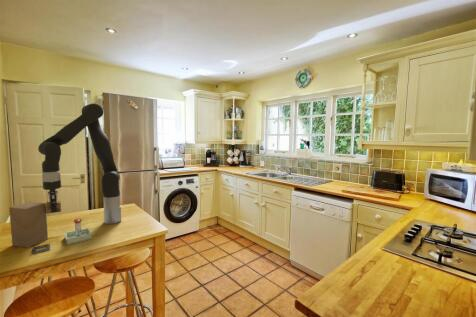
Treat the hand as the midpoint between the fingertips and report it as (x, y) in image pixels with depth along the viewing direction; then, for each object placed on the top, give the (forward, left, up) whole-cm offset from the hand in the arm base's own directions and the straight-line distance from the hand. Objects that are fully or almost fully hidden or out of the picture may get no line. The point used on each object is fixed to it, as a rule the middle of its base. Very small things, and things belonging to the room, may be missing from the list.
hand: (53, 210), depth 121 cm
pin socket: (+6, +12, -15) cm, 20 cm away
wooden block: (+10, 0, -15) cm, 18 cm away
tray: (-9, +9, -15) cm, 20 cm away
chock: (0, 0, -1) cm, 1 cm away
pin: (-10, +9, -15) cm, 19 cm away
